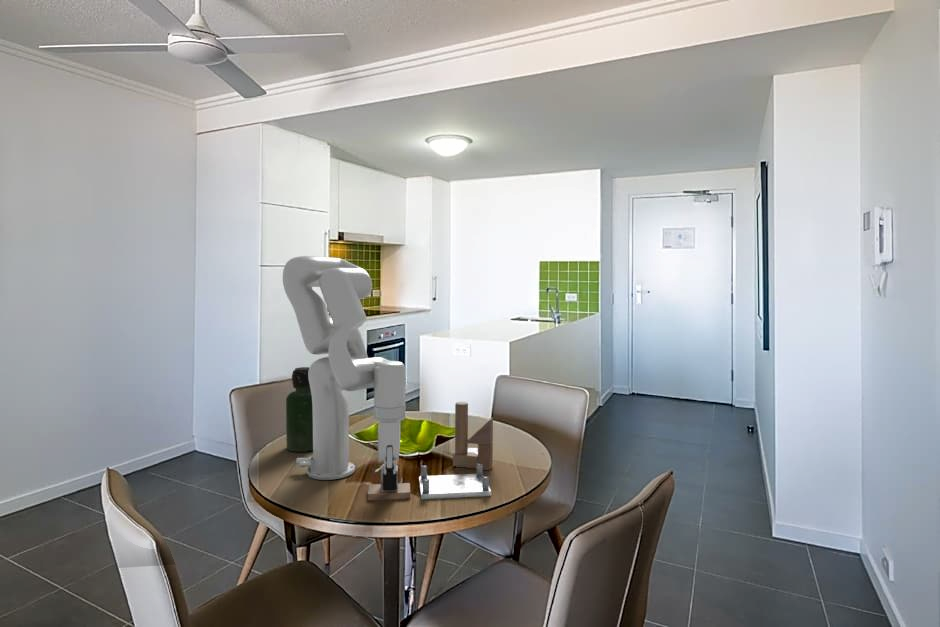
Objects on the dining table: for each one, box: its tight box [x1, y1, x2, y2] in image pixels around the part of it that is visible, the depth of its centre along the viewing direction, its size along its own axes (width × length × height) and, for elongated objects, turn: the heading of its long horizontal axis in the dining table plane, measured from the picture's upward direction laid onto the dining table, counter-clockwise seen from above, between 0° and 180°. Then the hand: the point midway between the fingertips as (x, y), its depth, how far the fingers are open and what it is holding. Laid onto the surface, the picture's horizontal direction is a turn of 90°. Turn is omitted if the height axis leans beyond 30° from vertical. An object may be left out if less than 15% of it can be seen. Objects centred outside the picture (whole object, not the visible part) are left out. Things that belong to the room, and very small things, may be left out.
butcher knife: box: [468, 447, 478, 454], centre depth 157 cm, size 5×15×1 cm, turn 177°
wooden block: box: [452, 401, 494, 471], centre depth 149 cm, size 4×11×18 cm, turn 75°
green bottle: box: [285, 366, 313, 453], centre depth 165 cm, size 10×10×25 cm
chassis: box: [418, 463, 492, 500], centre depth 133 cm, size 17×12×4 cm
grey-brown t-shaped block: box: [367, 464, 411, 501], centre depth 129 cm, size 10×6×6 cm, turn 98°
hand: (390, 485), depth 129 cm, fingers closed on grey-brown t-shaped block, 4 cm apart
